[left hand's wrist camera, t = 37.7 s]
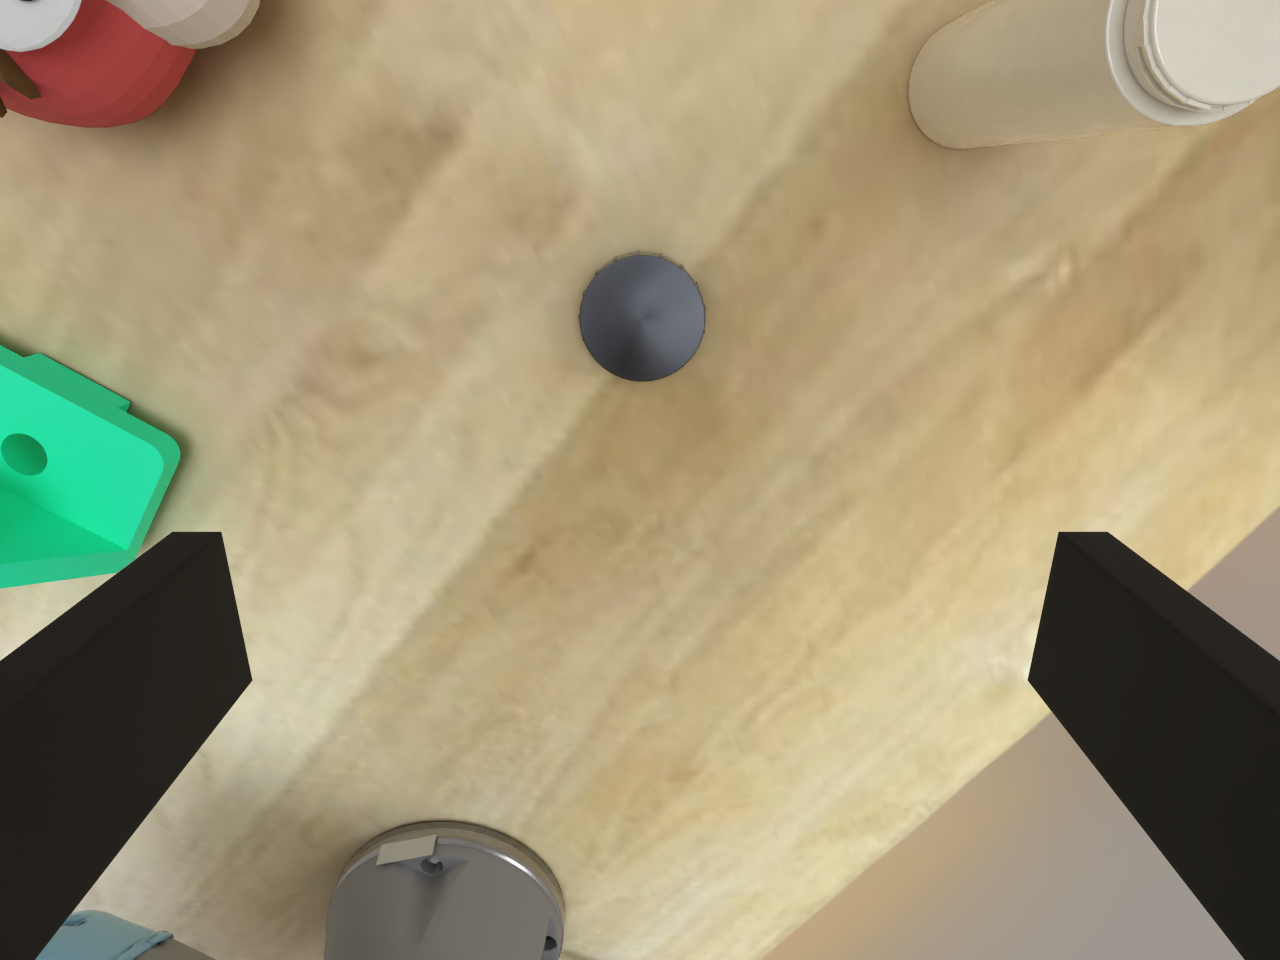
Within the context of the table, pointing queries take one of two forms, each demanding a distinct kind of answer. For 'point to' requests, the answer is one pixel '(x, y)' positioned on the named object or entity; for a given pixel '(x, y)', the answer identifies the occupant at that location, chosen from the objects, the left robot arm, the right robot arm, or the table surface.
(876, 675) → the table surface
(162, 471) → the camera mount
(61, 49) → the toy
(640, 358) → the lid
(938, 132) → the jar
